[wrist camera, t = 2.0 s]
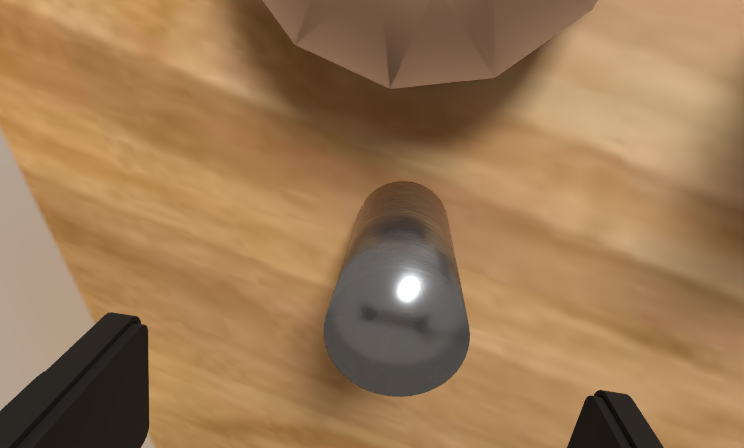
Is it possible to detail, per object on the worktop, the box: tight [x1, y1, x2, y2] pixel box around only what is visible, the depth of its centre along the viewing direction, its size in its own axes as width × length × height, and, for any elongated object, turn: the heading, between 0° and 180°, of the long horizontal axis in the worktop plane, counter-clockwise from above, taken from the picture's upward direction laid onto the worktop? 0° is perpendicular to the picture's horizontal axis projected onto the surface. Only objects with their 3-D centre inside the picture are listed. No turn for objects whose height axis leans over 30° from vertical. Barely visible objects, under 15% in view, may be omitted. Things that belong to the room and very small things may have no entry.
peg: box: [324, 181, 470, 397], centre depth 18 cm, size 4×4×9 cm
